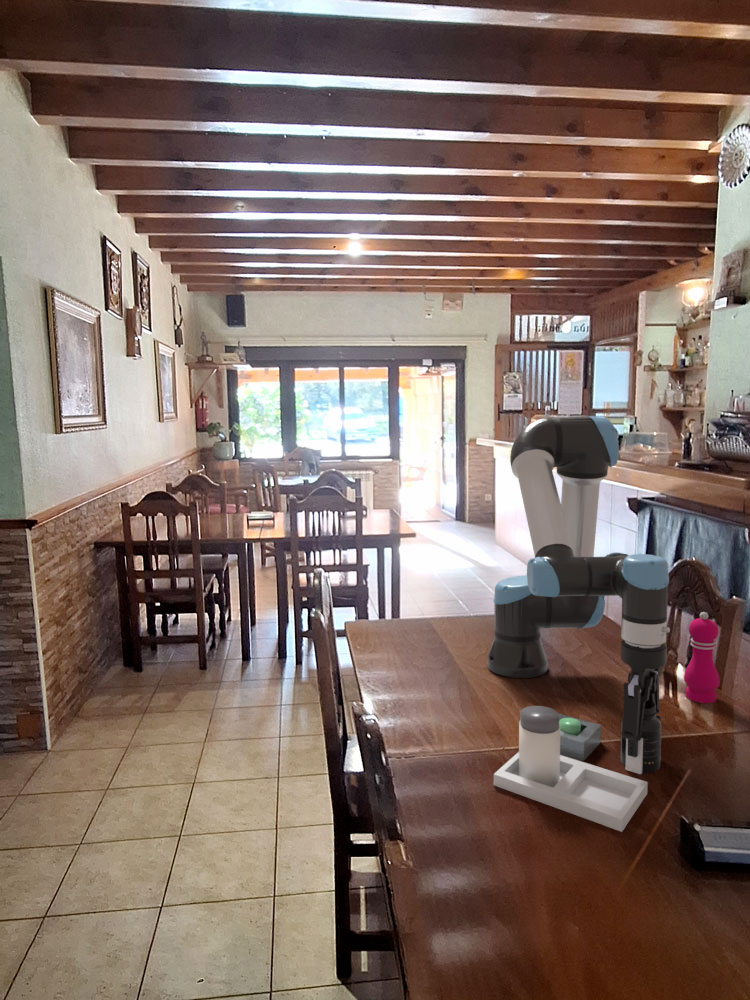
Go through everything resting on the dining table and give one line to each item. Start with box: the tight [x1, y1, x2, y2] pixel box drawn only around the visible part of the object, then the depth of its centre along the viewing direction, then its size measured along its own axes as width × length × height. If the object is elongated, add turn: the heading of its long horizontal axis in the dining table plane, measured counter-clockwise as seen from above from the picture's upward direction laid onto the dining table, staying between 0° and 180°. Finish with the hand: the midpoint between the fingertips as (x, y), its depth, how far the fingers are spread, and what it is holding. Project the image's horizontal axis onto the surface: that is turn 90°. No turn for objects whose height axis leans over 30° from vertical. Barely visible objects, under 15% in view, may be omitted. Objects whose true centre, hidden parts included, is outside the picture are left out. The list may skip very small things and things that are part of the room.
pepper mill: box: [683, 611, 721, 704], centre depth 148 cm, size 7×7×20 cm
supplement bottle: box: [620, 700, 662, 773], centre depth 120 cm, size 7×7×12 cm
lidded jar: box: [518, 705, 561, 788], centre depth 115 cm, size 7×7×12 cm
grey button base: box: [559, 713, 602, 762], centre depth 128 cm, size 9×9×4 cm
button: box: [559, 717, 581, 736], centre depth 127 cm, size 4×4×3 cm
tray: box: [493, 751, 649, 833], centre depth 112 cm, size 22×13×2 cm, turn 52°
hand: (640, 762), depth 121 cm, fingers closed on supplement bottle, 7 cm apart
